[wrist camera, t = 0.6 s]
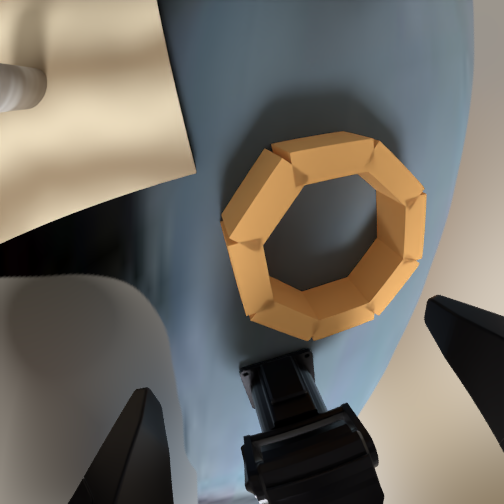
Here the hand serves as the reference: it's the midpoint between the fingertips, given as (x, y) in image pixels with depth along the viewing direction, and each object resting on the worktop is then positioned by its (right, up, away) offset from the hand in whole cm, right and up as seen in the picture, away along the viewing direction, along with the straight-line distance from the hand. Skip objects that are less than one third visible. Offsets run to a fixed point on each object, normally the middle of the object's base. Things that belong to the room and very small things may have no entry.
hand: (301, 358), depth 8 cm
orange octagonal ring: (+3, +5, +12) cm, 13 cm away
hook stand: (-14, +13, +4) cm, 19 cm away
